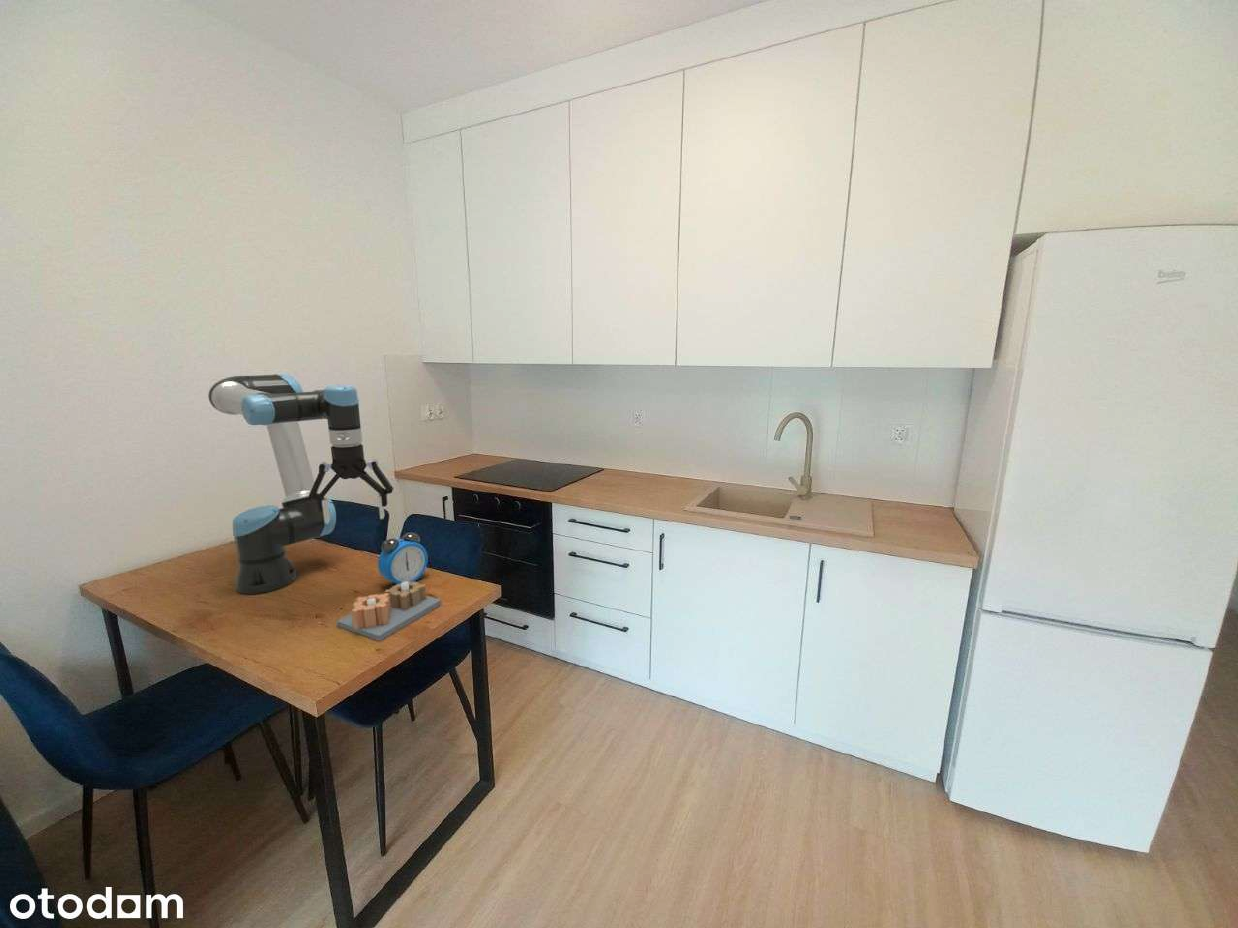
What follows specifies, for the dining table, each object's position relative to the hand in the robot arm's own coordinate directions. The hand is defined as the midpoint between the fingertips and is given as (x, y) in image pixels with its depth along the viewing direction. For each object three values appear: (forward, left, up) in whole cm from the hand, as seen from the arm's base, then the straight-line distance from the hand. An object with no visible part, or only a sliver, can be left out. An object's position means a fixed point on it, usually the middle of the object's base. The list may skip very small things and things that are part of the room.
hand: (355, 519), depth 135 cm
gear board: (+14, -3, -24) cm, 28 cm away
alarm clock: (+1, +13, -24) cm, 28 cm away
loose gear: (+14, -8, -23) cm, 28 cm away
